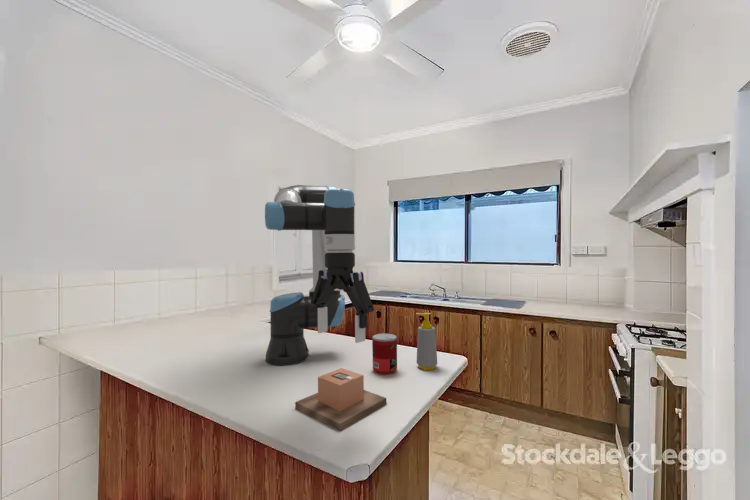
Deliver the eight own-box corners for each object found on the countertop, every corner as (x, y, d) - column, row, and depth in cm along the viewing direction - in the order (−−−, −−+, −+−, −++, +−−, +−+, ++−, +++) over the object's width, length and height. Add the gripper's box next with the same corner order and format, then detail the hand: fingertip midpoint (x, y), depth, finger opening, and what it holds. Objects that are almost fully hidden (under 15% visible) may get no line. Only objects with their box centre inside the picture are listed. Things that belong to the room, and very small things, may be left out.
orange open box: (318, 401, 81) (317, 375, 81) (341, 390, 87) (341, 366, 87) (340, 411, 76) (340, 383, 76) (363, 399, 82) (363, 373, 82)
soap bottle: (415, 363, 112) (414, 311, 112) (435, 363, 112) (435, 311, 112) (417, 370, 105) (416, 315, 105) (439, 370, 105) (438, 314, 105)
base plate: (295, 408, 81) (295, 377, 81) (342, 387, 93) (342, 360, 93) (340, 430, 70) (339, 395, 70) (386, 403, 82) (386, 374, 82)
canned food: (395, 375, 101) (395, 340, 101) (370, 373, 103) (369, 338, 103) (398, 366, 109) (398, 333, 109) (375, 365, 110) (374, 332, 110)
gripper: (297, 251, 87) (297, 331, 87) (366, 252, 71) (367, 349, 71) (319, 251, 93) (319, 326, 93) (388, 251, 76) (389, 342, 77)
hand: (340, 336), depth 82 cm, fingers open, 13 cm apart
